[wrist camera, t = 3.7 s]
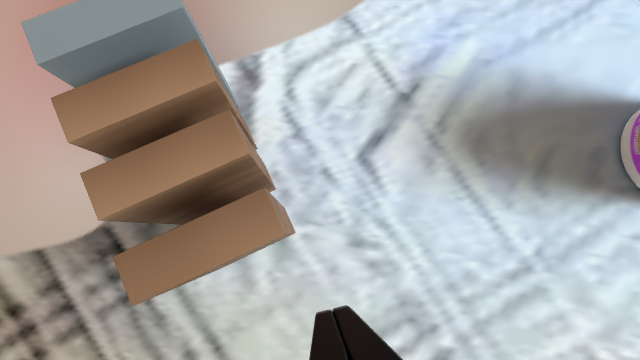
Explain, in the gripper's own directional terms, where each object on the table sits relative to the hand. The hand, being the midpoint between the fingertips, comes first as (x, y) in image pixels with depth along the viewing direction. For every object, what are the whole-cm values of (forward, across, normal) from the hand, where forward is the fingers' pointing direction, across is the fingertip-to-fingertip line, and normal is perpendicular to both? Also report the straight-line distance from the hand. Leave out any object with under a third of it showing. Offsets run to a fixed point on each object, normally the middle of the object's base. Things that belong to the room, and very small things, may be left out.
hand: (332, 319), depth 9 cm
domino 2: (+13, +3, +3) cm, 14 cm away
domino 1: (+11, +2, +5) cm, 13 cm away
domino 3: (+14, +4, +1) cm, 15 cm away
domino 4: (+16, +4, -1) cm, 17 cm away
